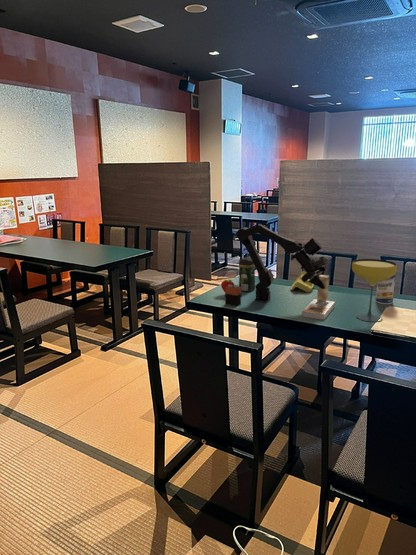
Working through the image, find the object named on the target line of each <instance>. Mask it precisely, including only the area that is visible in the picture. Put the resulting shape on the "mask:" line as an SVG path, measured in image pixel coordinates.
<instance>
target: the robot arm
mask: <svg viewBox="0 0 416 555" xmlns="http://www.w3.org/2000/svg"><path fill="white" fill-rule="evenodd" d="M255 234H259V235H262V237H265V238H266V239H268V240H270V241H273V242H274V243H275V244H278V245H279V246H280V247H281V248H282V249H283V250H284V251H286V252H287V253H288V254H290V257H291V258H290V260H291V261H294V260H296V262H297V263H298V265H300V266H301V267H300V269H301V270H304V272H306V274H305V275H304V276H302V281H303V282H304V283H305V282H307V280H308V279H309V281H308V282H310V283H312V284H314V286H316V287H317V288H318V287H320V288H322V289H324V288H325V287H324V285H323V283H322V282H321V280H320V279H319V276H320V275H326V272H327V270H328V266H327V265H328V258H327V257H326V256H324V255H322V256H319V259H318V260H315V259H314V258H311V257H310V256H315V255H316V254H317V253H319V251H321V250H322V249H323V246H322V244H321V243H320V242H319V241H317V240H316V239H315V238H314V237H311V238H310V239H309V240H308V241H307V242H306V243H302V242H301V243H300V242H299V241H297V239H293V238H289V237H285V236H283V235H281V234H279V233H277V232H276V231H274V230H272V229H270V228H268V227H266V226H264V225H263V224H261V223H260V224H257V225H254V226H250V227H246V226H245V227H241V228H239V229H238V230H237V231H236V234H235V235H236V238H237V239H238V241H239V242H240V243H241V244H242V245H243V246H244V248H245V249H246V251H247V253H248V255H249V257H251V259H252V261H253V263H254V265H255V270H256V272H257V276H258V281H259V282H258V283H256V284H255V299H254V301H256V302H264V303H267V302H268V301H270V300H271V291H270V286H271V285H272V284H273V283H274V280H275V278H274V277H275V275H274V273H273V271H272V270H271V269H272V268H270V269H267V267H266V266H265V264H264V262H263V259H262V258H261V256H260V253H259V252H258V250H257V248H256V246H255V244H254V241H253V235H255Z"/></svg>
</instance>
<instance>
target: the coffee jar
mask: <svg viewBox="0 0 416 555" xmlns="http://www.w3.org/2000/svg"><path fill="white" fill-rule="evenodd" d="M238 267H239V277H238V287H241V292H243V293H244V292H252V291H254V290H256V287H255V286H256V276H255V275H256V273H255V272H256V271H255V270H256V267H255V265H254V263H253V261H252V259H251V257H250V256H246V257H244V258H241V259H239V260H238Z"/></svg>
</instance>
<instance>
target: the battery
mask: <svg viewBox="0 0 416 555" xmlns="http://www.w3.org/2000/svg"><path fill="white" fill-rule="evenodd" d="M224 296H225V300H224V302H225V305H226V306H232V307H238V306H240V305H242V291H241V287H239V284H234V286H232V285H228V286H227V287H225V292H224Z"/></svg>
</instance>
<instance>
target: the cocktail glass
mask: <svg viewBox="0 0 416 555" xmlns="http://www.w3.org/2000/svg"><path fill="white" fill-rule="evenodd" d="M351 270H352V272H353V273H354V274H355V275H357V276H358V277H360V278H362V279H363V280H365V281H367V283H368V285H369V286H370V299H369V308H368V312H367V313H358V314H357V315H355V316H356V319H358V320H360V321H364V322H368V323H370V322H371V323H377V321H378V320H379V319H380V317H381V315H377V314H374V313H372V299H373V289H374V286H377V283H378V282H379V281H381V280H384V279H387V278H390V277H392V276H393V275H395V276H396V274H397V270H398V265H397V263H395V262H393V261H390V260H383V259H376V258H362V259H354V260H353V261H352V263H351Z"/></svg>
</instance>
